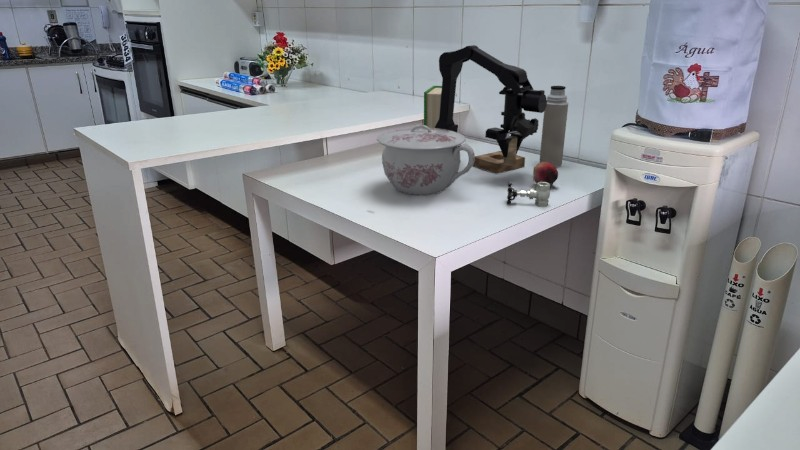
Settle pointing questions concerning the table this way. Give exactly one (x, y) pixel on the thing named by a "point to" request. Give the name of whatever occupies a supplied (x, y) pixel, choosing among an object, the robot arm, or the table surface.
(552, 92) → the thermos bottle
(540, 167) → the fruit
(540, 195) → the valve
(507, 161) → the peg
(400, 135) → the chamber pot
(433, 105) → the hardback book
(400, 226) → the table surface
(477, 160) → the socket block
